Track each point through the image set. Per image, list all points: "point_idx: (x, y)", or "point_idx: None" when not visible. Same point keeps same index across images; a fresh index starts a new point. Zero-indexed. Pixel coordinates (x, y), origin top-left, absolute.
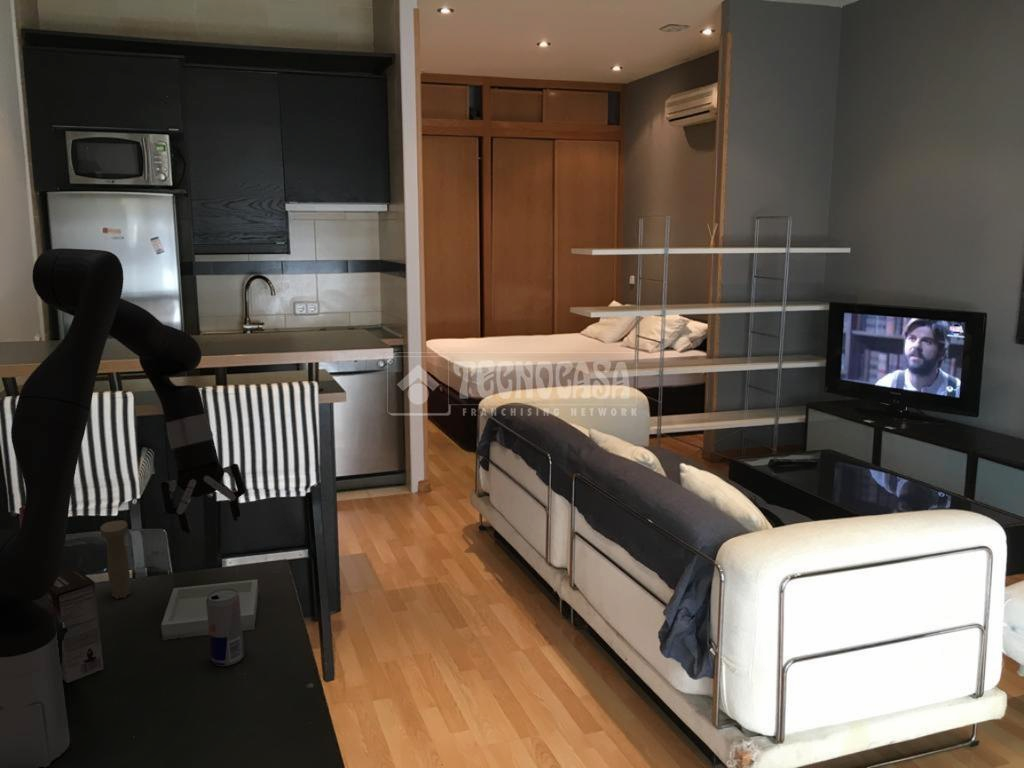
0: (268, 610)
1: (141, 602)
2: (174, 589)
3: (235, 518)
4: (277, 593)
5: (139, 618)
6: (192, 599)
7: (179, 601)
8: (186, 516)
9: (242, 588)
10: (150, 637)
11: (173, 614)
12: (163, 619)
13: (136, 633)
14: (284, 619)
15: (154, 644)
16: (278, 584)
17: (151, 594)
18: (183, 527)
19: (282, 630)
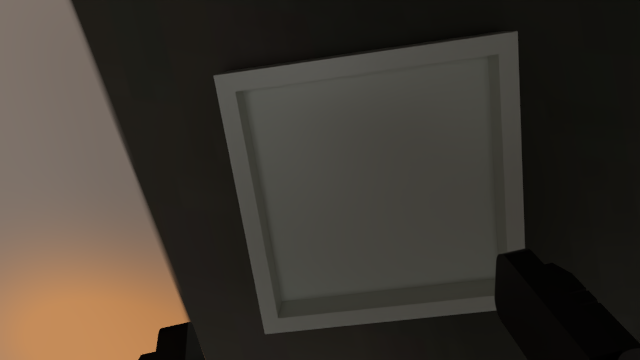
0: (214, 194)
1: (612, 296)
2: None
3: (170, 332)
4: (214, 299)
5: (600, 193)
6: (456, 271)
7: (495, 262)
8: (569, 346)
9: (309, 304)
10: (542, 59)
11: (495, 163)
12: (517, 76)
13: (592, 92)
14: (150, 128)
15: (521, 8)
16: (225, 355)
17: None
18: (561, 282)
19: (137, 54)
